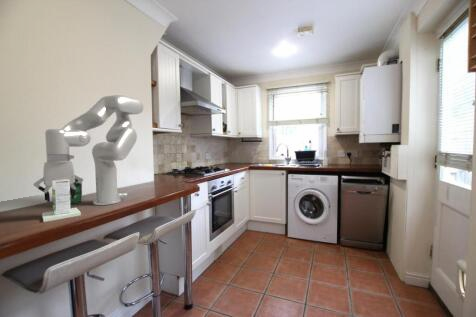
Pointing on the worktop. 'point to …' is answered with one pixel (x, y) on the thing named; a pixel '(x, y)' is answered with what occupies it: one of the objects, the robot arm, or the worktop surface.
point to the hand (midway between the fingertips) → (60, 199)
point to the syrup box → (61, 196)
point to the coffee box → (78, 193)
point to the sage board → (60, 215)
